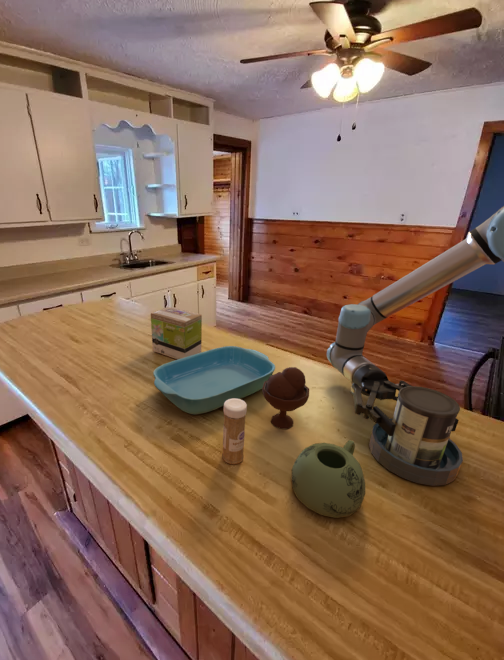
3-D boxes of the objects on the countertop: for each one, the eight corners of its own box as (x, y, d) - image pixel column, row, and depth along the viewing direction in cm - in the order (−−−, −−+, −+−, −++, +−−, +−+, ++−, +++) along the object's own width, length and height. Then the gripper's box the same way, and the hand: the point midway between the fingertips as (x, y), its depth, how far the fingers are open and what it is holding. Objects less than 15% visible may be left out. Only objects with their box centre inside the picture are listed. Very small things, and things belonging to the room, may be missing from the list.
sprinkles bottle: (238, 468, 68) (241, 413, 63) (218, 460, 70) (219, 406, 65) (246, 454, 72) (250, 401, 67) (227, 447, 74) (229, 395, 69)
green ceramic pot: (341, 538, 54) (350, 499, 51) (275, 491, 63) (279, 454, 60) (380, 486, 64) (390, 450, 61) (319, 451, 73) (325, 418, 70)
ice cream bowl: (288, 405, 89) (294, 354, 83) (314, 431, 79) (322, 375, 74) (252, 412, 86) (256, 360, 80) (274, 440, 76) (280, 383, 71)
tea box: (151, 352, 119) (149, 312, 114) (169, 342, 127) (168, 305, 121) (185, 363, 111) (184, 321, 106) (202, 352, 119) (202, 313, 113)
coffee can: (439, 450, 73) (459, 395, 68) (439, 481, 65) (461, 421, 60) (387, 433, 78) (401, 380, 73) (381, 460, 70) (396, 403, 65)
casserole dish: (236, 358, 115) (237, 339, 112) (287, 385, 99) (290, 363, 96) (139, 392, 94) (137, 370, 92) (183, 434, 78) (183, 408, 75)
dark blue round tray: (437, 438, 77) (442, 424, 76) (472, 494, 63) (479, 477, 61) (362, 427, 81) (365, 414, 79) (378, 478, 66) (383, 462, 65)
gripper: (406, 386, 90) (474, 438, 70) (317, 391, 87) (362, 447, 67) (413, 361, 87) (486, 408, 67) (321, 365, 84) (369, 416, 65)
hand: (424, 428), depth 67 cm, fingers open, 13 cm apart
